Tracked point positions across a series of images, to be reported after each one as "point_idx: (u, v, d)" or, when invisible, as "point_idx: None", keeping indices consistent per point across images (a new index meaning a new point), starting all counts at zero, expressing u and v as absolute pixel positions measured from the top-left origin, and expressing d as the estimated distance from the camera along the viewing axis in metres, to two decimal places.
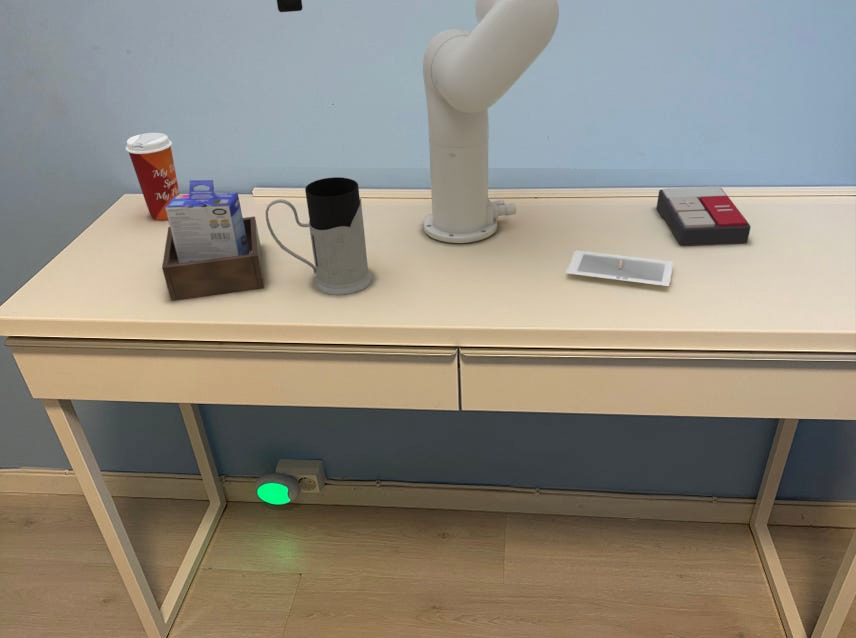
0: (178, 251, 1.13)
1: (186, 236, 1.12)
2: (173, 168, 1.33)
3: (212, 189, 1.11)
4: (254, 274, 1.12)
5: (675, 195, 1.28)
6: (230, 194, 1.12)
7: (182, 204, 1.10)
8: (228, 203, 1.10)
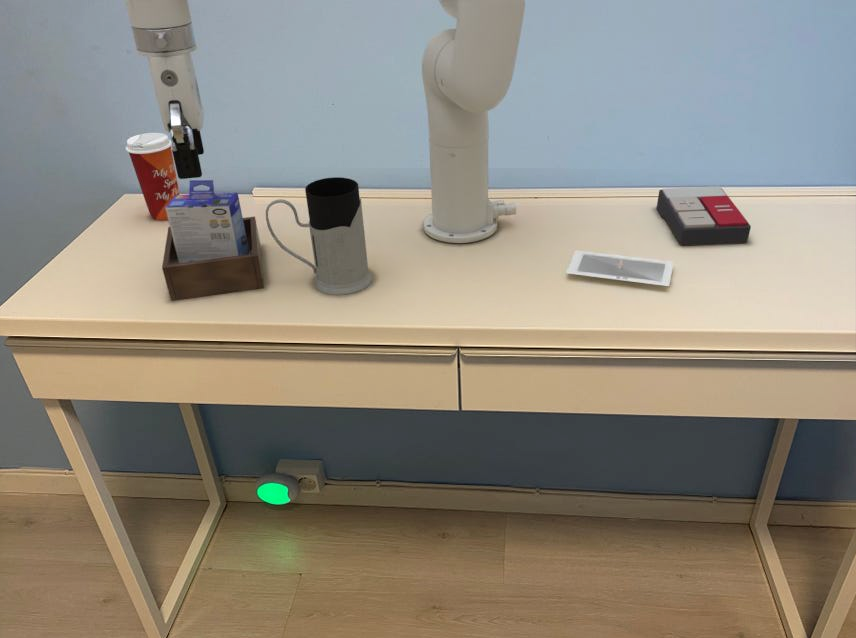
0: (178, 251, 1.13)
1: (186, 236, 1.12)
2: (173, 168, 1.33)
3: (212, 189, 1.11)
4: (254, 274, 1.12)
5: (675, 195, 1.28)
6: (230, 194, 1.12)
7: (182, 204, 1.10)
8: (228, 203, 1.10)
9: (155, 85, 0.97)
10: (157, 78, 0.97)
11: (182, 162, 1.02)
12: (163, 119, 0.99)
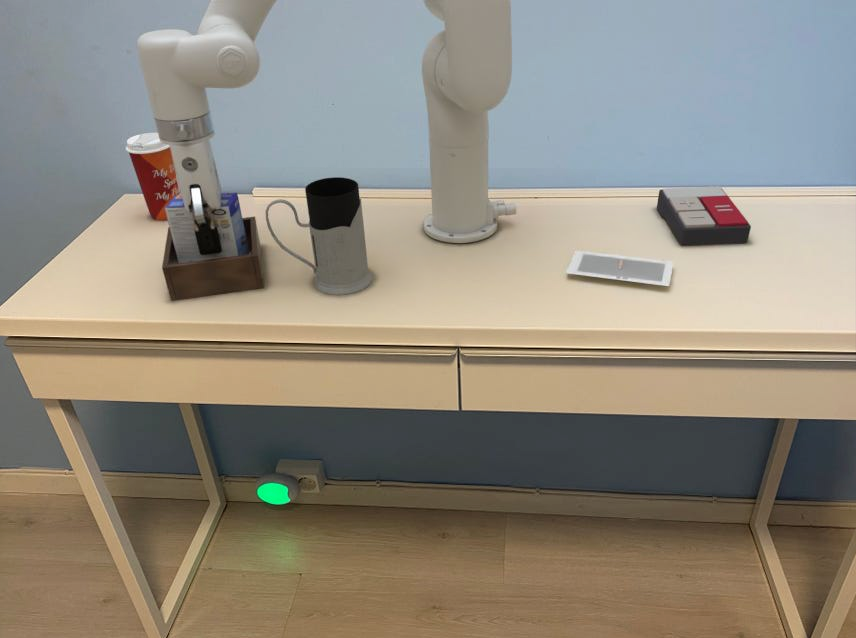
0: (178, 251, 1.13)
1: (186, 236, 1.12)
2: (173, 168, 1.33)
3: None
4: (254, 274, 1.12)
5: (675, 195, 1.28)
6: (229, 194, 1.12)
7: (182, 204, 1.10)
8: (228, 203, 1.09)
9: (177, 171, 1.04)
10: (178, 165, 1.03)
11: (204, 241, 1.10)
12: (184, 201, 1.06)
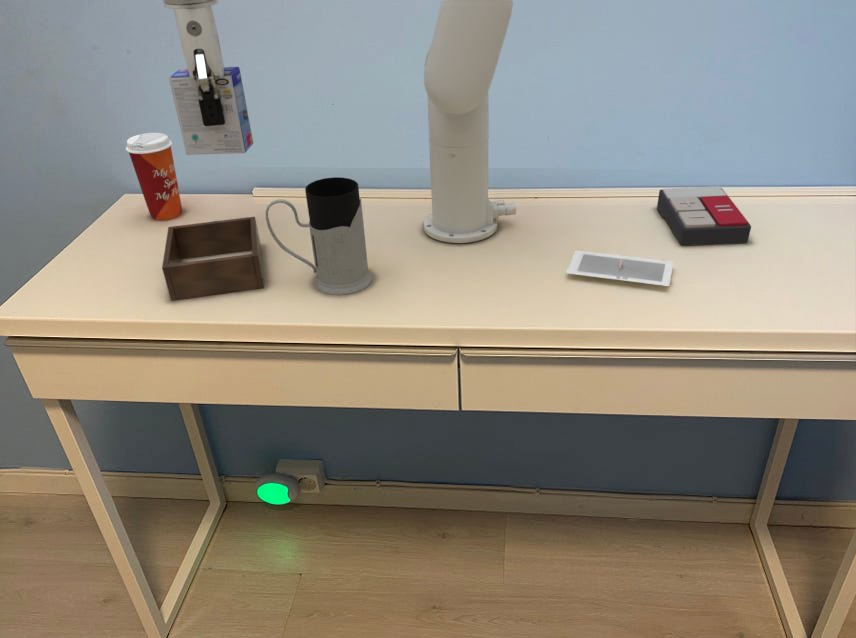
0: (182, 124, 1.16)
1: (189, 108, 1.15)
2: (173, 168, 1.33)
3: None
4: (254, 274, 1.12)
5: (675, 195, 1.28)
6: (231, 67, 1.16)
7: (186, 74, 1.13)
8: (230, 73, 1.13)
9: (181, 35, 1.07)
10: (183, 28, 1.07)
11: (207, 110, 1.13)
12: (188, 67, 1.09)
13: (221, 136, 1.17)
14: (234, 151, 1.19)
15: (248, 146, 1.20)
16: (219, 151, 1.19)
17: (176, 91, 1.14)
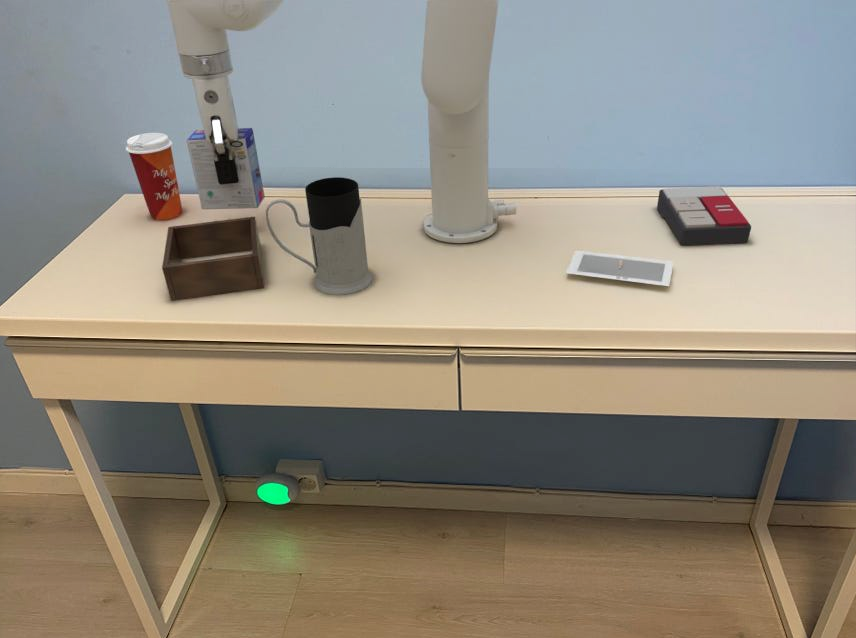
0: (198, 182, 1.23)
1: (205, 167, 1.22)
2: (173, 168, 1.33)
3: None
4: (254, 274, 1.12)
5: (675, 195, 1.28)
6: (245, 129, 1.23)
7: (202, 136, 1.20)
8: (244, 136, 1.20)
9: (199, 103, 1.14)
10: (201, 97, 1.13)
11: (222, 170, 1.20)
12: (205, 132, 1.16)
13: (235, 193, 1.24)
14: (247, 206, 1.26)
15: (260, 201, 1.27)
16: (233, 206, 1.26)
17: (193, 152, 1.21)
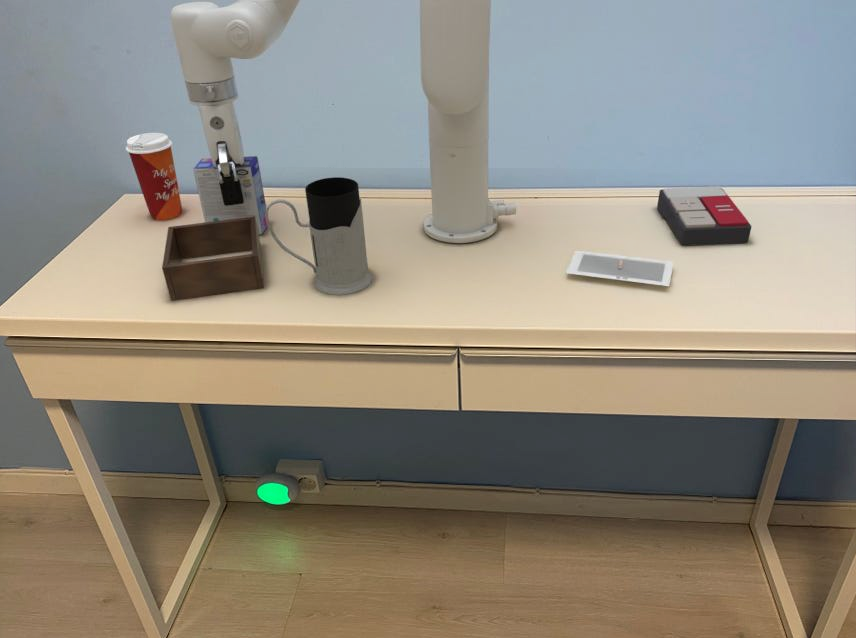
0: (204, 209, 1.26)
1: (212, 195, 1.25)
2: (173, 168, 1.33)
3: None
4: (254, 274, 1.12)
5: (675, 195, 1.28)
6: (250, 157, 1.26)
7: (209, 165, 1.23)
8: (250, 164, 1.23)
9: (205, 129, 1.16)
10: (207, 123, 1.16)
11: (227, 192, 1.21)
12: (212, 157, 1.18)
13: None
14: None
15: (265, 227, 1.30)
16: None
17: (199, 180, 1.23)
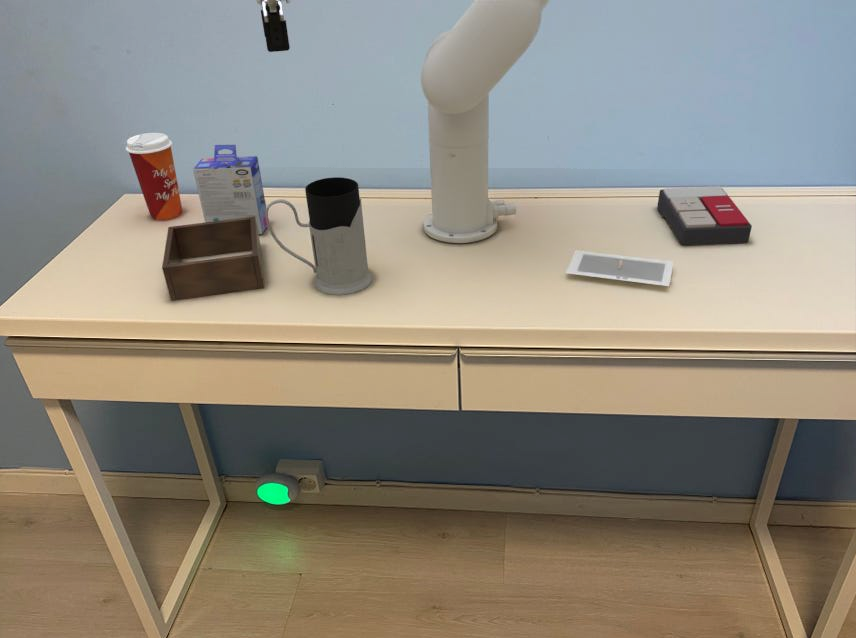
0: (204, 209, 1.26)
1: (211, 195, 1.25)
2: (173, 168, 1.33)
3: (235, 152, 1.24)
4: (254, 274, 1.12)
5: (675, 195, 1.28)
6: (250, 157, 1.26)
7: (209, 165, 1.23)
8: (250, 164, 1.23)
9: None
10: None
11: (272, 34, 1.07)
12: None
13: None
14: None
15: (265, 227, 1.30)
16: None
17: (199, 180, 1.23)
